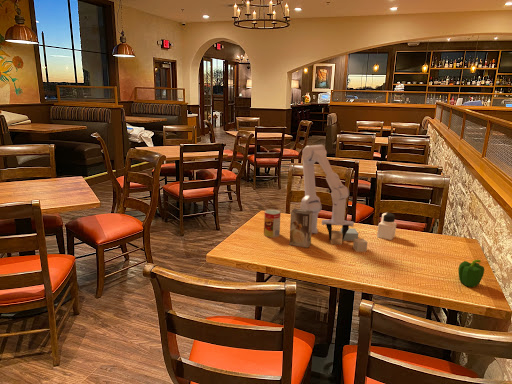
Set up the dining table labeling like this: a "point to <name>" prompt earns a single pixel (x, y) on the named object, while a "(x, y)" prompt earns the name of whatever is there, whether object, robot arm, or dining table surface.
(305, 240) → the coffee box
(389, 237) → the medicine bottle
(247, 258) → the dining table surface
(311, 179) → the robot arm
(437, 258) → the dining table surface
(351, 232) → the slate block
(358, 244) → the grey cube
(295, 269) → the dining table surface
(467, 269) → the bell pepper
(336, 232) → the maple cube
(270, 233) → the canned food
